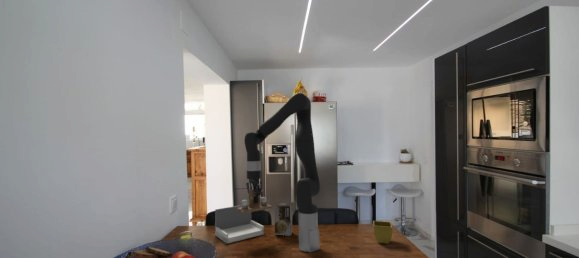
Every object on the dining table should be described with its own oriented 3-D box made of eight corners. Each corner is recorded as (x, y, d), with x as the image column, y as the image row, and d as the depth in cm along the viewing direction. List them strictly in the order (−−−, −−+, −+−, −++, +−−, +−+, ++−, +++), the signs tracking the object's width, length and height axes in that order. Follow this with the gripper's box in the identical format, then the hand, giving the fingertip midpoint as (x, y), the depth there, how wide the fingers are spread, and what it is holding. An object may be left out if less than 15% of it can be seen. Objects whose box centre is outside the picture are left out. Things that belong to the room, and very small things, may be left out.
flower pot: (391, 239, 133) (390, 221, 134) (393, 245, 125) (392, 227, 125) (373, 238, 136) (373, 220, 136) (374, 244, 127) (373, 225, 128)
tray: (271, 208, 136) (271, 188, 137) (244, 213, 127) (243, 192, 127) (263, 205, 142) (263, 186, 143) (237, 210, 133) (236, 190, 134)
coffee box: (292, 232, 147) (291, 203, 148) (290, 236, 140) (290, 205, 141) (276, 231, 147) (275, 203, 148) (274, 235, 141) (274, 205, 142)
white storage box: (263, 234, 143) (263, 208, 144) (226, 243, 130) (226, 215, 131) (250, 227, 156) (250, 203, 157) (215, 234, 143) (215, 209, 144)
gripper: (266, 169, 132) (267, 204, 131) (253, 168, 144) (254, 199, 143) (253, 171, 128) (254, 206, 127) (241, 169, 139) (241, 201, 138)
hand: (254, 202), depth 135 cm, fingers closed on tray, 3 cm apart
